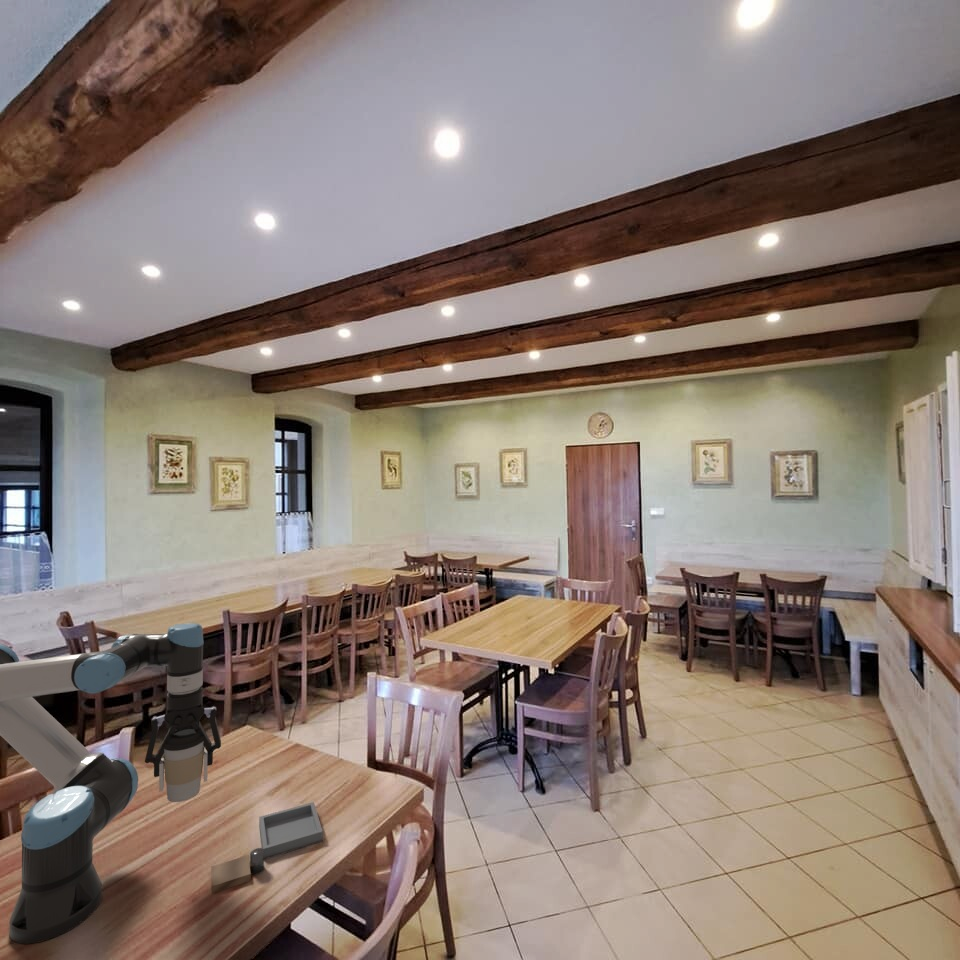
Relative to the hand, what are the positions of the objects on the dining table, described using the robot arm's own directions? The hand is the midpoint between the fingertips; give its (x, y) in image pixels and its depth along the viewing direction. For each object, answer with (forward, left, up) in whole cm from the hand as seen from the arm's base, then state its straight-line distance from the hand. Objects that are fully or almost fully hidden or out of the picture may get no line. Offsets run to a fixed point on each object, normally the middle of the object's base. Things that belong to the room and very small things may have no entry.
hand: (183, 783), depth 124 cm
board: (+10, -11, -19) cm, 24 cm away
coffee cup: (0, 0, -3) cm, 3 cm away
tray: (+24, -1, -19) cm, 31 cm away
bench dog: (+16, -11, -19) cm, 27 cm away
